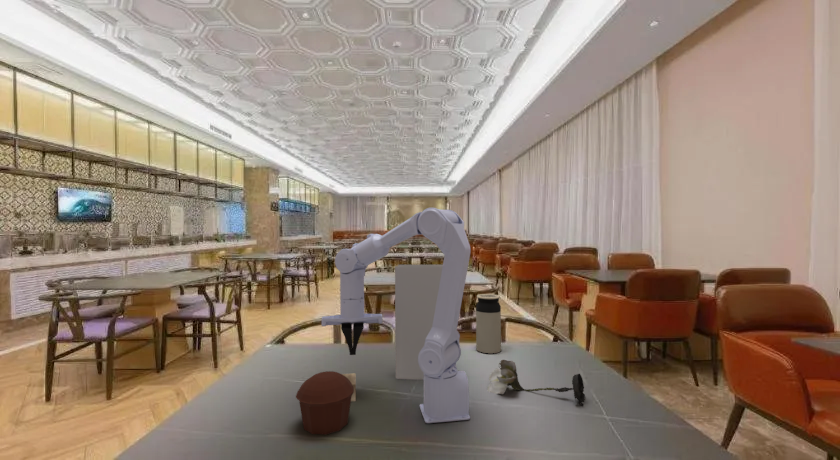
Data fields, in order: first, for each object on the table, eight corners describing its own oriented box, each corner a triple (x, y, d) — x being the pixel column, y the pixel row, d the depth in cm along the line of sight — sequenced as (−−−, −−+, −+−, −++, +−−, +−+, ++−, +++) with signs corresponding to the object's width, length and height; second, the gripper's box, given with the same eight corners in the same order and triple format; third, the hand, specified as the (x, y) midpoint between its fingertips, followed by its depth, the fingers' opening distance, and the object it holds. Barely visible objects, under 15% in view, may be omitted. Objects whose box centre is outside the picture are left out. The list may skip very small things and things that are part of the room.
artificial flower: (584, 418, 83) (576, 377, 81) (486, 407, 94) (477, 371, 92) (587, 392, 90) (580, 354, 88) (496, 385, 102) (488, 351, 100)
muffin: (332, 405, 86) (332, 361, 86) (365, 421, 79) (365, 372, 79) (284, 426, 77) (284, 376, 77) (317, 445, 70) (317, 391, 70)
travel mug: (494, 355, 120) (493, 298, 120) (472, 351, 125) (471, 296, 125) (505, 349, 126) (504, 295, 126) (483, 345, 131) (483, 293, 131)
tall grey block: (449, 372, 106) (448, 264, 106) (449, 380, 100) (448, 266, 100) (398, 371, 107) (398, 264, 107) (395, 378, 102) (395, 266, 102)
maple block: (355, 373, 95) (314, 375, 94) (355, 384, 89) (311, 387, 87) (355, 389, 95) (314, 392, 94) (355, 401, 89) (311, 405, 87)
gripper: (380, 294, 98) (381, 347, 98) (323, 296, 96) (323, 350, 96) (383, 298, 91) (383, 355, 91) (320, 301, 89) (321, 359, 89)
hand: (352, 353), depth 93 cm, fingers closed
